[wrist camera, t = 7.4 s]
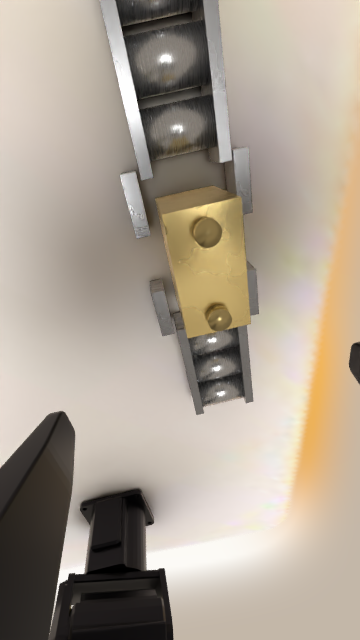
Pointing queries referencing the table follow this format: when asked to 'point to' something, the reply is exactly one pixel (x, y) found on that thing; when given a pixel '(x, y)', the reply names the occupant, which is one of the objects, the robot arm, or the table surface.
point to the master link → (206, 258)
